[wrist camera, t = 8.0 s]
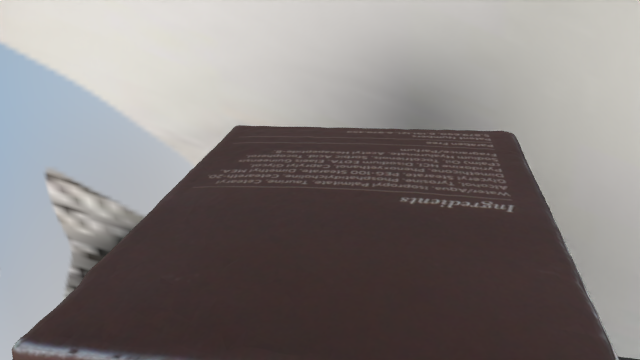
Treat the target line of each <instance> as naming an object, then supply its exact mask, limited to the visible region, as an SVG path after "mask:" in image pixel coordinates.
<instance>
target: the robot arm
mask: <svg viewBox="0 0 640 360" xmlns="http://www.w3.org/2000/svg"><path fill="white" fill-rule="evenodd" d="M553 219H554V218H553ZM555 224H556V223H555ZM556 226H557V225H556ZM563 241H564V240H563ZM564 244H565V242H564ZM565 246H566V244H565ZM566 248H567V246H566ZM567 250H568V249H567ZM568 253H569V251H568ZM569 255H570V253H569ZM570 256H571V255H570ZM571 258H572V257H571ZM572 260H573V259H572ZM575 267H576V266H575ZM576 269H577V268H576ZM577 271H578V270H577ZM578 273H579V272H578ZM579 275H580V274H579ZM580 278H581V277H580ZM581 280H582V279H581ZM582 282H583V281H582ZM583 285H584V283H583ZM584 288H585V290H586V287H585V285H584ZM586 293H587V295H588V297H589V299H590V300H591V298H590V296H589V294H588V292H587V290H586ZM591 302H592V300H591ZM592 304H593V303H592ZM593 306H594V305H593ZM594 308H595V307H594ZM595 310H596V309H595ZM596 312H597V311H596ZM597 314H598V313H597ZM598 317H599V315H598ZM599 320H600V318H599ZM600 322H601V320H600ZM601 325H602V327H603V329H604V331H605V328H604V326H603V324H602V322H601ZM605 333H606V331H605ZM606 335H607V333H606ZM607 337H608V335H607ZM608 339H609V337H608ZM609 341H610V339H609ZM610 344H611V341H610ZM611 347H612V349H613V352H614V355H615V358H616V360H640V359H632V358H623V357H618V356H617V354H616V352H615V350H614V348H613V346H612V344H611Z"/></svg>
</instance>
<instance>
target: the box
mask: <svg viewBox="0 0 640 360" xmlns="http://www.w3.org/2000/svg"><path fill="white" fill-rule="evenodd" d="M12 355H13V360H616V358H615V355H614V352H613V349H612V347H611V344H610V341H609V339H608V337H607V335H606V333H605V331H604V329H603V327H602V325H601V322H600V320H599V317H598V314H597V312H596V310H595V308H594V306H593V304H592V302H591V300H590V299H589V297H588V295H587V293H586V290H585V288H584V285H583V282H582V280H581V278H580V275H579V273H578V271H577V269H576V267H575V264H574V262H573V260H572V258H571V256H570V255H569V253H568V250H567V248H566V246H565V244H564V241H563V238H562V236H561V233H560V231H559V229H558V227H557V226H556V224H555V221H554V219H553V216H552V213H551V211H550V209H549V207H548V205H547V203H546V201H545V198H544V196H543V195H542V193H541V191H540V188H539V186H538V184H537V182H536V181H535V178H534V176H533V174H532V172H531V170H530V168H529V166H528V163H527V161H526V159H525V157H524V154H523V152H522V150H521V147H520V145H519V143H518V140H517V138H516V137H515V135H514V134H512V133H509V132H504V131H455V130H421V129H413V130H403V129H363V128H321V127H271V126H240V125H239V126H236V127H234V128H233V129H232V131H230V132H229V133H228V134H227V135H226V137H225V138H224V139H223V140H222V141H221V142H220V143H218V145H217V146H216V147H215V148H214V149H213V150H211V151H210V152H209V153H208V154H207V155H206V156H205V157H204V158H203V159H202V161H200V162H199V163H198V164H197V165H196V166H195V167H194V168H193V169H192V170H191V171H190V172H189V173H188V174H187V175H186V176H185V178H183V180H181V181H180V182H179V183H178V184H177V185H176V186H175V187H174V188H173V189H172V190H171V191H170V192H169V193H168V194H167V195H166V196H165V197H164V198H163V199H162V200H161V201H160V202H159V203H158V204H157V205H156V207H155V208H154V209H153V210H152V211H151V212H149V214H148V215H147V216H146V217H145V218H144V219H143V220H142V221H141V222H140V223H139V224H137V225H136V226H135V227H134V228H133V229H132V230H131V231H130V232H129V234H127V235H126V236H125V237H124V238H123V239H122V240H121V241H120V242H119V243H118V244H117V245H116V246H115V247H114V248H113V249H112V250H111V251H110V252H109V253H108V254H107V255H106V256H105V257H104V258H103V259H102V260H100V261H99V262H98V263H97V264H96V265H95V266H94V267H92V268H91V269H90V270H89V271H88V272H87V273H86V275H85V276H84V278H83V280H82V281H81V283H80V284H79V286H78V287H77V288H76V289H75V290H74V291H73V292H71V293H70V294H69V295H68V296H67V297H66V298H65V299H64V300H63V301H62V302H61V303H60V304H59V305H58V306H57V307H56V308H55V309H54V310H53V311H51V312H50V313H49V314H48V315H47V316H45V317H44V318H43V319H42V320H40V321H39V322H38V323H37V324H36V325H35V326H34V327H33V328H32V329H31V330H30V331H29V332H28V333H27V334H25V335H24V336H23V337H21V338H20V339H19V340H18V341H17V342H16V343H15V345H14V347H13V348H12Z"/></svg>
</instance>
